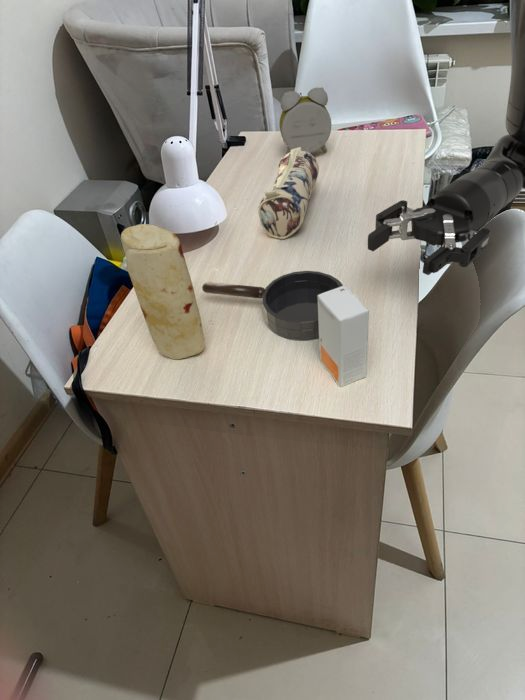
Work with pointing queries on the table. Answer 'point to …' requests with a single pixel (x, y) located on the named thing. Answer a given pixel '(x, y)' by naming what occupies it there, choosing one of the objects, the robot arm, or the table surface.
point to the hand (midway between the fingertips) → (396, 256)
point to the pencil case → (289, 194)
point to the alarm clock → (305, 120)
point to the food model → (164, 289)
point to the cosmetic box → (343, 334)
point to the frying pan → (296, 303)
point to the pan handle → (233, 290)
